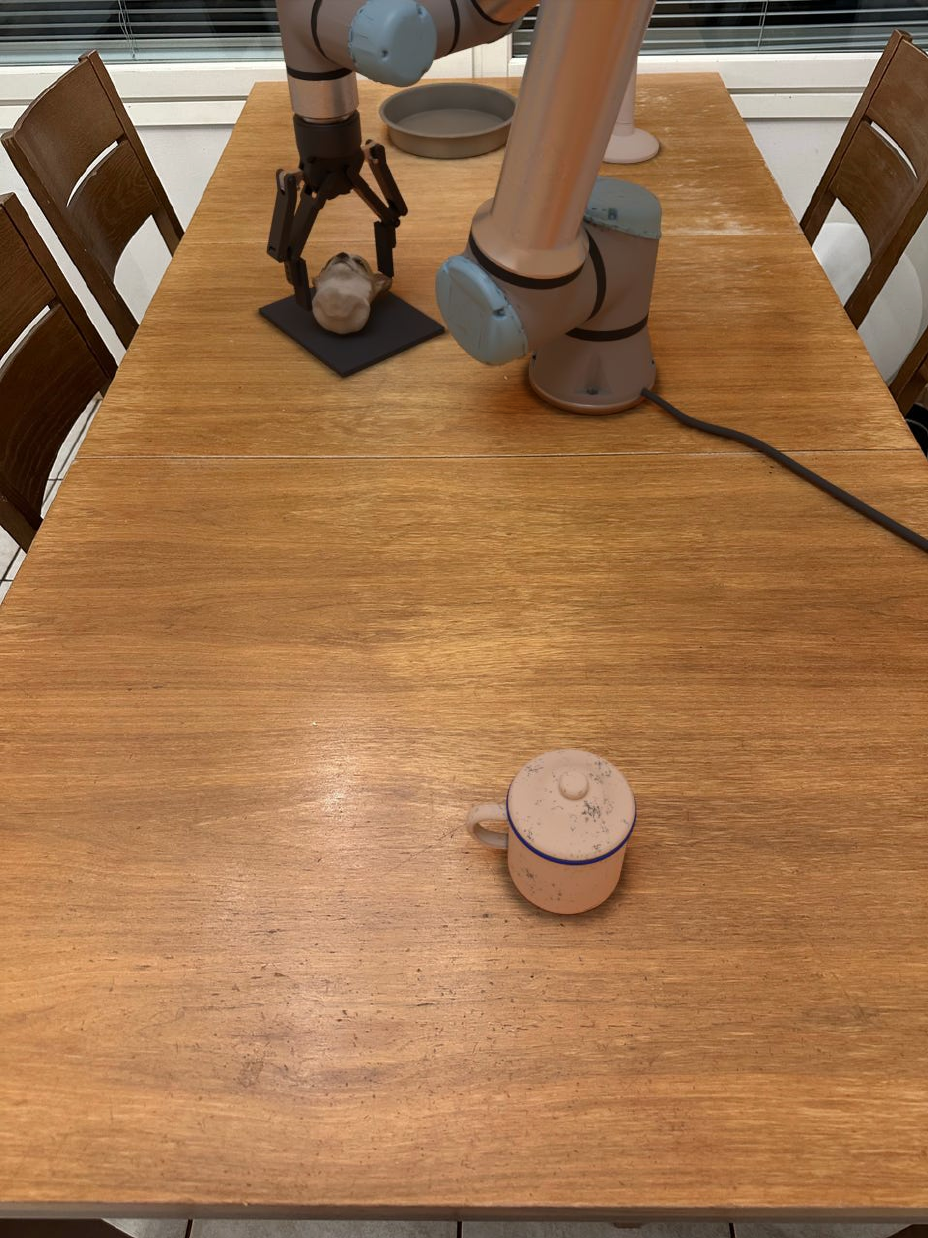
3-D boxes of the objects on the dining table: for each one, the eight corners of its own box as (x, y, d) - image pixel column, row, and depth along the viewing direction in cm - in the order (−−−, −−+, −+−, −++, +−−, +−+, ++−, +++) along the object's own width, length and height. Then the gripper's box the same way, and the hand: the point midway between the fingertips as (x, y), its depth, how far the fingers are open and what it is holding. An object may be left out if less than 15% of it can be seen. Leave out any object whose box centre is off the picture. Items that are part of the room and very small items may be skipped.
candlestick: (571, 138, 164) (585, -71, 142) (639, 128, 167) (663, -79, 144) (600, 167, 156) (619, -50, 134) (671, 156, 158) (701, -59, 136)
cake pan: (545, 123, 169) (546, 96, 165) (473, 174, 155) (472, 146, 152) (430, 97, 178) (429, 71, 174) (352, 144, 164) (349, 116, 161)
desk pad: (444, 332, 123) (444, 326, 123) (343, 378, 117) (342, 372, 116) (357, 274, 134) (356, 269, 133) (259, 313, 127) (258, 308, 127)
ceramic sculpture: (288, 275, 113) (313, 225, 124) (297, 342, 119) (320, 288, 130) (376, 279, 112) (394, 228, 123) (380, 345, 118) (397, 291, 129)
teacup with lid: (621, 814, 75) (639, 729, 67) (625, 923, 69) (645, 845, 60) (471, 805, 76) (469, 719, 67) (462, 912, 70) (458, 833, 61)
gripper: (393, 75, 113) (403, 248, 129) (213, 129, 103) (249, 310, 119) (431, 93, 109) (438, 269, 125) (248, 150, 99) (281, 334, 115)
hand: (346, 289), depth 122 cm, fingers closed on ceramic sculpture, 12 cm apart
